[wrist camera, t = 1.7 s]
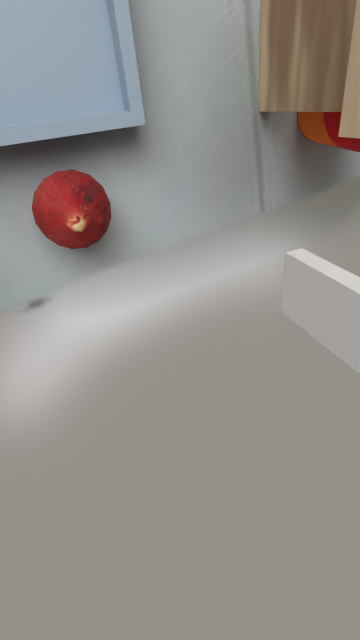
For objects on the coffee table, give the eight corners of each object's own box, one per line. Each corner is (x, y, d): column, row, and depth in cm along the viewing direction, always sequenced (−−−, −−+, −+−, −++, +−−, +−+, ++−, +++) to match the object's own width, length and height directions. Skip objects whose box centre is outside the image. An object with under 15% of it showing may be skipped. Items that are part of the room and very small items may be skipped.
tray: (-77, 154, 25) (-88, 159, 22) (-209, -123, 18) (-246, -160, 15) (135, 123, 29) (145, 124, 26) (99, -115, 21) (107, -143, 19)
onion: (59, 148, 28) (68, 159, 21) (115, 196, 31) (138, 218, 24) (18, 205, 28) (15, 233, 22) (76, 246, 32) (88, 280, 25)
